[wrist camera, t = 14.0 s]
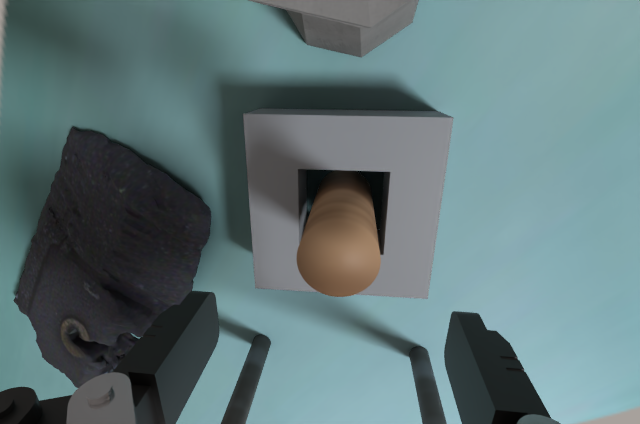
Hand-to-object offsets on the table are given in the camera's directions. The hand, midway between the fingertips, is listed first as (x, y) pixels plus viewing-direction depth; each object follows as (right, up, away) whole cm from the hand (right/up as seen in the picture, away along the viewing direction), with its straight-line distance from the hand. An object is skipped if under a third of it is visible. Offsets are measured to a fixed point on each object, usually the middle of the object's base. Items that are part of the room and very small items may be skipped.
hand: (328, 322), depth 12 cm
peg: (+2, +5, +14) cm, 15 cm away
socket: (+2, +5, +14) cm, 15 cm away
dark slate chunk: (-18, -1, +19) cm, 26 cm away
